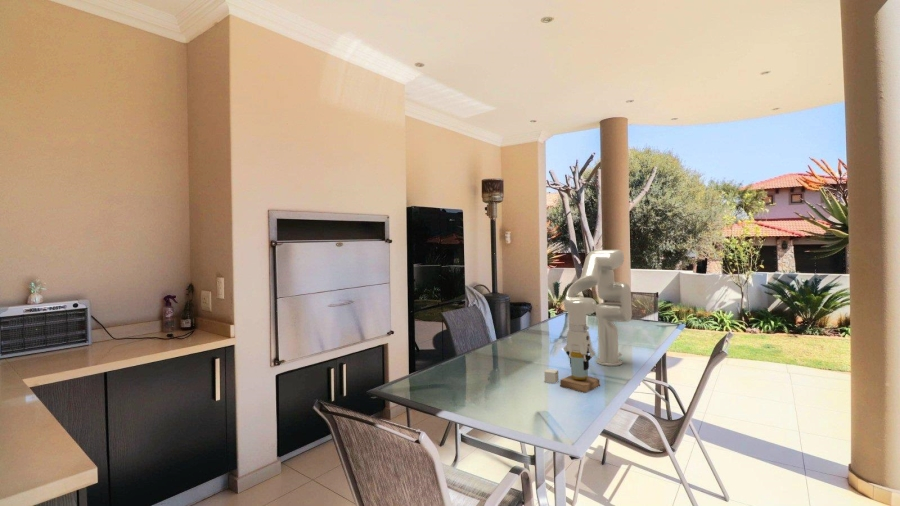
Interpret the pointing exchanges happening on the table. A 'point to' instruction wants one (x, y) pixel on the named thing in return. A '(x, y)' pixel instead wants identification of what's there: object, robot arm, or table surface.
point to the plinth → (580, 384)
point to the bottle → (577, 364)
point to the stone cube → (551, 376)
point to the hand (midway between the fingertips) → (579, 367)
